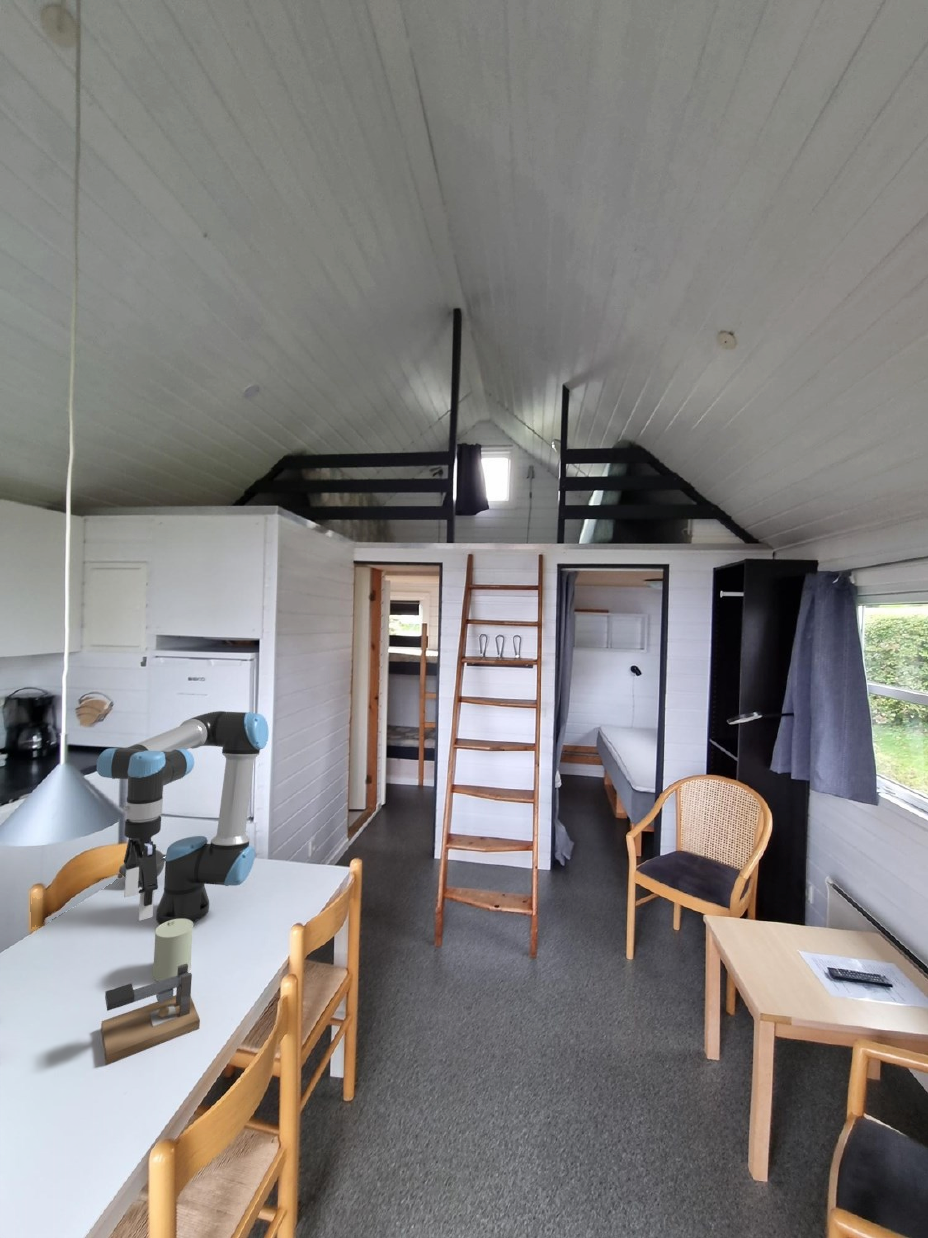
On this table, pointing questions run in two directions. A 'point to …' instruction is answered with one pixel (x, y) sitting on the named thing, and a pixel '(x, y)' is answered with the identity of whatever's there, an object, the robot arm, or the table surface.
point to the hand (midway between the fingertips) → (137, 906)
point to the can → (172, 948)
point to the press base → (150, 1023)
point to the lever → (142, 992)
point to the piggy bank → (159, 864)
